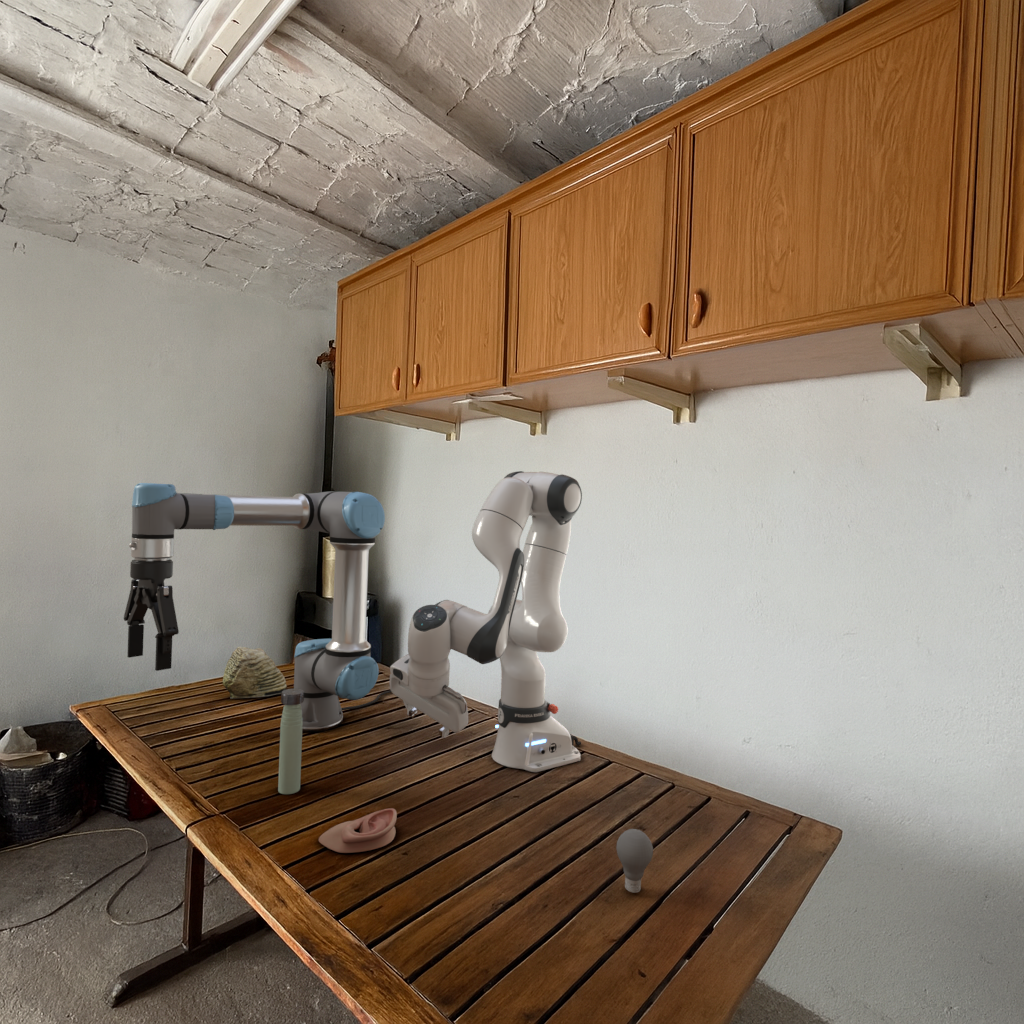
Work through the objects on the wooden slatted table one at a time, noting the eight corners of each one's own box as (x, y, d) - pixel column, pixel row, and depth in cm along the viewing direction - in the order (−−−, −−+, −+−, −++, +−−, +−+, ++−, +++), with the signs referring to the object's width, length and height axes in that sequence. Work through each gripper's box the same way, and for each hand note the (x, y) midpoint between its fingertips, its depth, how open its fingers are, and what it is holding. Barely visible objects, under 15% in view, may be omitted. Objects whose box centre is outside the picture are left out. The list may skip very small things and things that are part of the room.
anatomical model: (310, 826, 114) (340, 797, 125) (309, 848, 114) (339, 817, 125) (379, 837, 111) (403, 806, 122) (378, 859, 111) (403, 827, 123)
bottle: (304, 789, 137) (307, 693, 136) (284, 796, 133) (288, 698, 133) (293, 783, 140) (296, 688, 139) (274, 789, 136) (277, 693, 136)
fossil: (218, 695, 195) (220, 647, 195) (278, 685, 208) (279, 640, 207) (228, 703, 189) (230, 653, 188) (289, 692, 201) (290, 645, 201)
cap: (307, 702, 136) (308, 691, 136) (288, 706, 133) (288, 696, 133) (296, 697, 139) (296, 687, 139) (277, 701, 136) (277, 691, 136)
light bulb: (610, 879, 108) (613, 822, 108) (644, 879, 109) (647, 822, 109) (619, 902, 102) (622, 840, 102) (655, 901, 103) (658, 840, 103)
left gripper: (108, 554, 134) (104, 654, 134) (159, 565, 118) (155, 678, 119) (146, 552, 140) (143, 648, 140) (199, 563, 124) (195, 671, 124)
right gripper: (476, 690, 132) (473, 739, 138) (404, 649, 142) (405, 696, 148) (456, 707, 127) (454, 756, 133) (384, 663, 138) (385, 711, 144)
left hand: (148, 662), depth 129 cm, fingers open, 13 cm apart
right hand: (427, 724), depth 141 cm, fingers open, 8 cm apart
